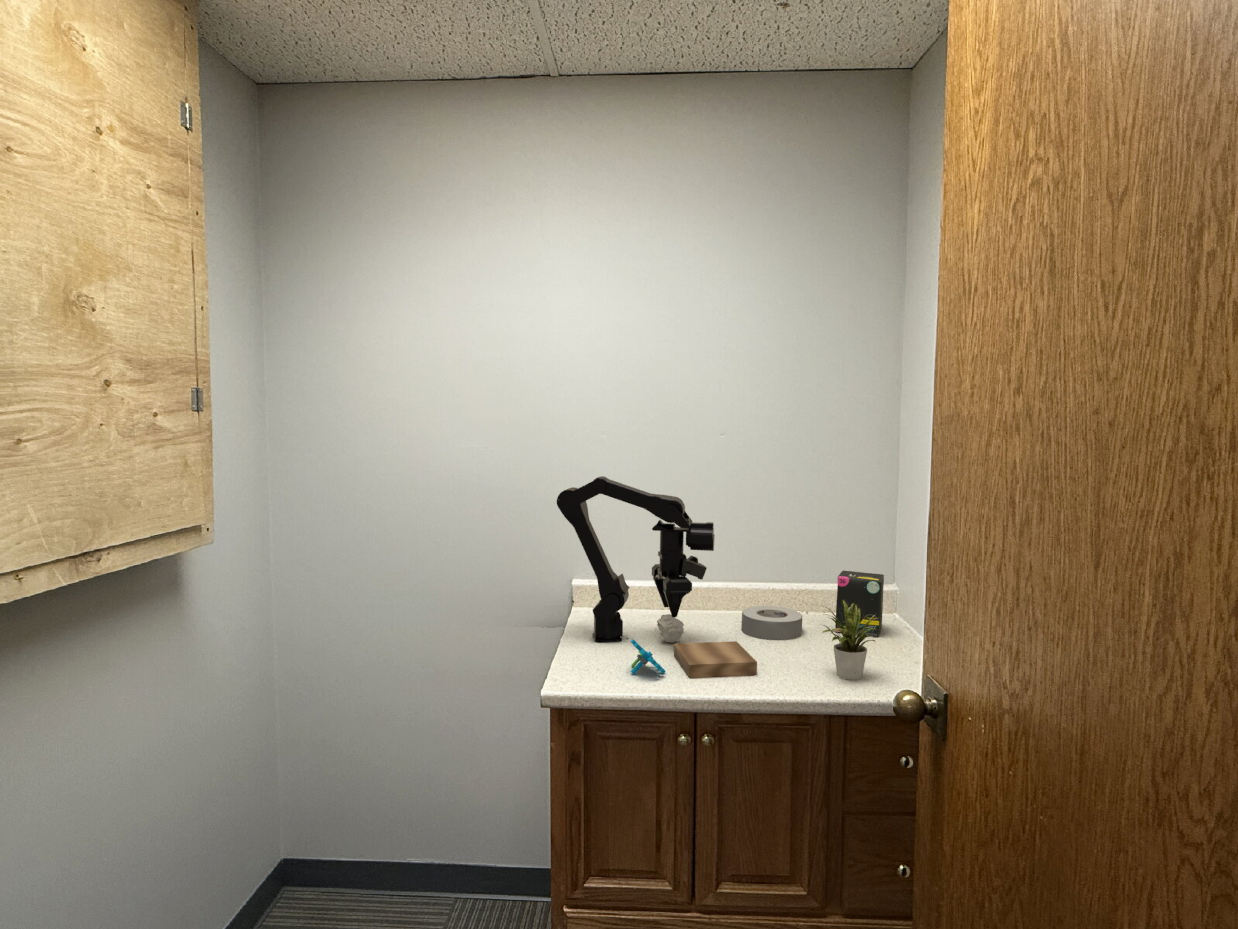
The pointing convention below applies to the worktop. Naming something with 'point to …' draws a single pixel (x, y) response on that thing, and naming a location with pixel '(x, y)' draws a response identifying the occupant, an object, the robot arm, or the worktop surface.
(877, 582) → the tampon box
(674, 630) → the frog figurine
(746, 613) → the tape roll
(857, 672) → the house plant
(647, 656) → the gear
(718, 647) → the walnut block
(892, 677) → the worktop surface
